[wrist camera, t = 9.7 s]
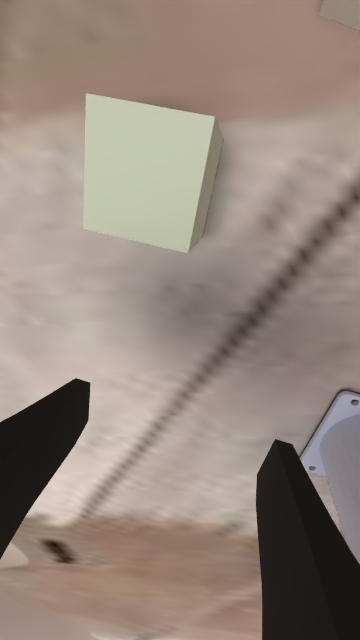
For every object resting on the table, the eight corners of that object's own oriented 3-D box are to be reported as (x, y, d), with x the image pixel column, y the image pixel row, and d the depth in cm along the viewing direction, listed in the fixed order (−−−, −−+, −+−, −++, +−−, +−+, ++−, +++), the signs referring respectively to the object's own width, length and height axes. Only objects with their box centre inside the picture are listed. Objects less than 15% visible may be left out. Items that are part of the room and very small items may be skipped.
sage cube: (223, 139, 14) (215, 116, 10) (202, 236, 17) (187, 253, 12) (132, 122, 15) (86, 93, 10) (124, 218, 17) (83, 228, 13)
